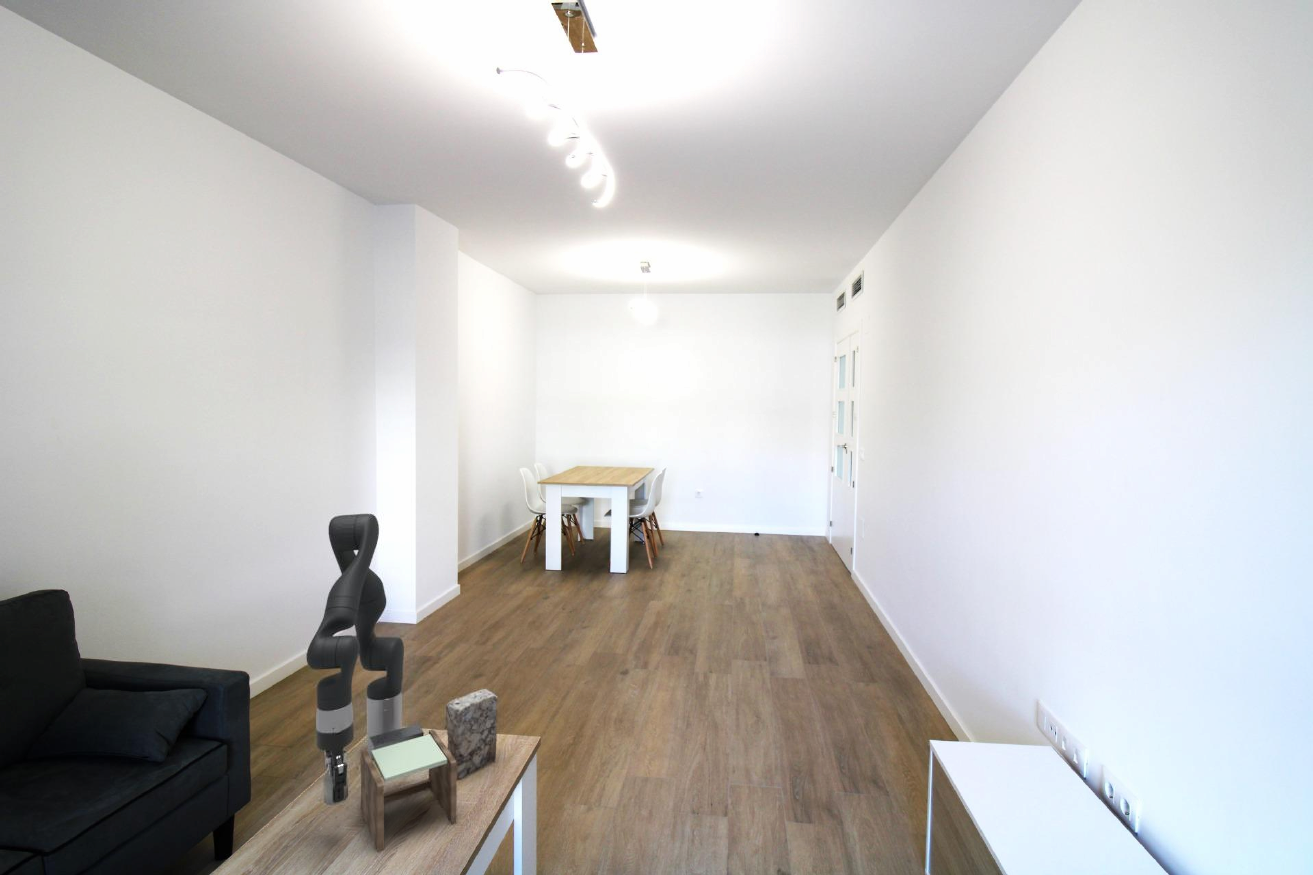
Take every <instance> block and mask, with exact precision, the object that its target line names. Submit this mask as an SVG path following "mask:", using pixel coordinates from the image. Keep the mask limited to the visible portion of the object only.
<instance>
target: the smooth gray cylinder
mask: <svg viewBox="0 0 1313 875" xmlns="http://www.w3.org/2000/svg"><path fill="white" fill-rule="evenodd" d="M332 772H334V770H332ZM322 779H323V802H324V804H325V805H327V806H334V805H337V804H341V803H343V802H344V801H346V800H347V799H348V797H349V771H348V770H347V780H346V781H347V784H346V786H344V799H343V800H342V801H340V802H337V803H334V802H333V790H332V777H330V776H329V772H327V771H326V773H325V774H324V775H323V777H322Z"/></svg>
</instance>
